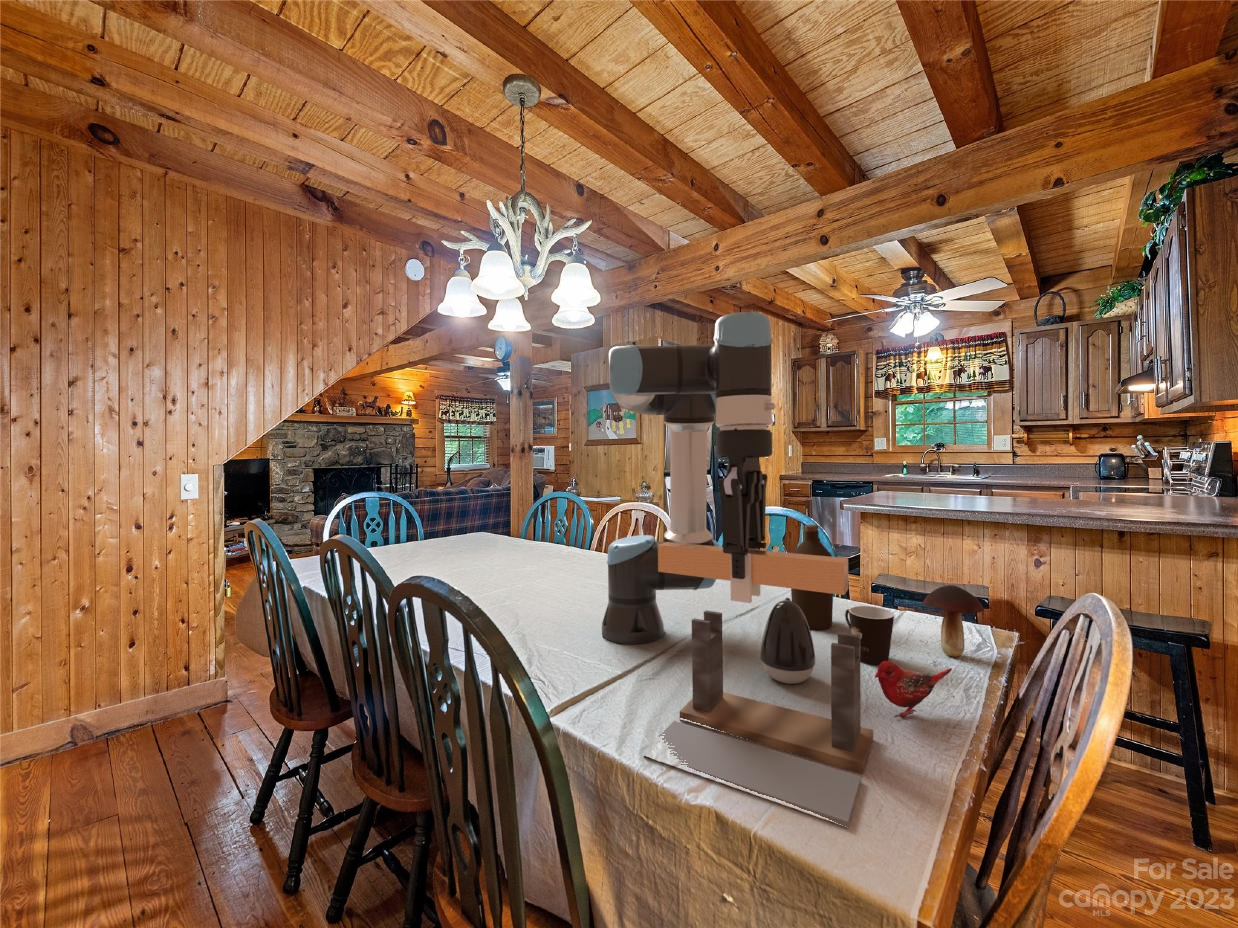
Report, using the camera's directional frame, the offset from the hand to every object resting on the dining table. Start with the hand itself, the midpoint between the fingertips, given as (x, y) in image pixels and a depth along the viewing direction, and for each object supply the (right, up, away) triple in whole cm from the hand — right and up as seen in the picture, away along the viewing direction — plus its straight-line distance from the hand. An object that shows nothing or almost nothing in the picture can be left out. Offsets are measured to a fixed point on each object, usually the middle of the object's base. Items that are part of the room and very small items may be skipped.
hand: (745, 597), depth 73 cm
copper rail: (0, +2, 0) cm, 2 cm away
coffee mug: (+36, -23, +39) cm, 57 cm away
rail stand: (+7, -24, +11) cm, 27 cm away
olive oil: (+31, -22, +59) cm, 71 cm away
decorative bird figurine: (+32, -23, +15) cm, 42 cm away
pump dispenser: (+15, -23, +29) cm, 40 cm away
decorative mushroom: (+53, -22, +38) cm, 69 cm away
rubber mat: (0, -24, +1) cm, 24 cm away
